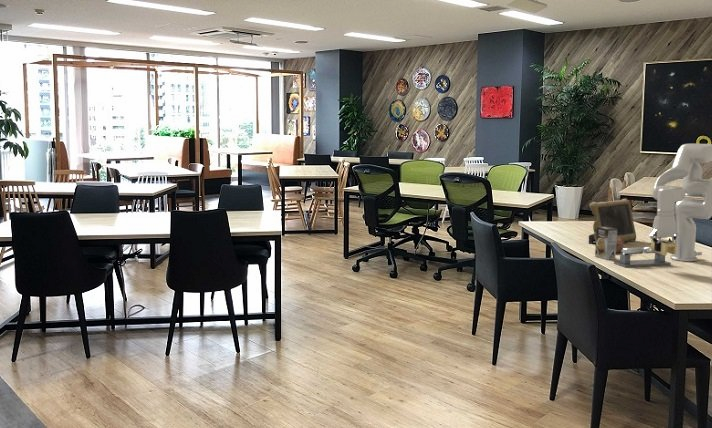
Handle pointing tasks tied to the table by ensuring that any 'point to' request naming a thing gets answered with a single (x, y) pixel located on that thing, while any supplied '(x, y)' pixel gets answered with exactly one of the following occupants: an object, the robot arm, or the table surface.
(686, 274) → the table surface
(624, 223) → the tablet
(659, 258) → the shaft rig
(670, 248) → the coupler
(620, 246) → the decorative rock
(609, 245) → the coffee box
